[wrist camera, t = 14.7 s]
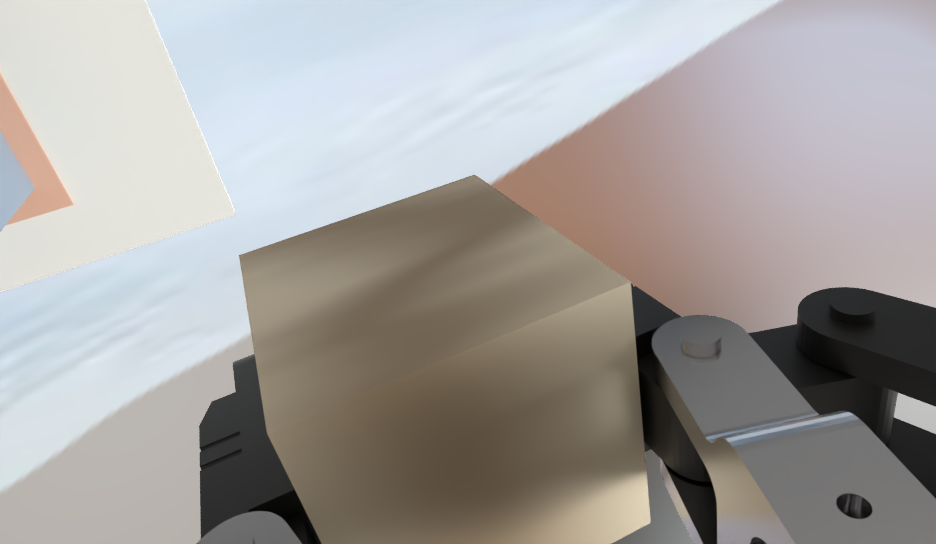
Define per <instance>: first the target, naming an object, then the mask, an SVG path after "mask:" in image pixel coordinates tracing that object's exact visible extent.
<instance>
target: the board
mask: <svg viewBox="0 0 936 544" xmlns="http://www.w3.org/2000/svg"><path fill="white" fill-rule="evenodd" d="M0 131H1V133H2V134H3V136H4V138H5V139H6V141H7V143H8V144H9V146H10V148H11V149H12V151H13V153H14V154H15V156H16V158H17V159H18V161H19V162H20V164H21V166H22V167H23V169H24V171H25V172H26V174H27V176H28V177H29V179H30V181H31V182H32V184H33V186H34V187H35V189H34V190H33V191H32V192H31V194H30V195H29V196H28V197H27V199H26V200H25V201H24V203H23V204H22V205H21V206H20V208H19V209H18V210H17V211H16V213H15V214H14V215H13V217H12V218H11V219H10V220H9V222H8V223H7V224H6V225H5V227H4V228H3V229H2V231H1V232H0V293H1V292H4V291H7V290H10V289H13V288H16V287H19V286H22V285H25V284H28V283H31V282H34V281H37V280H40V279H43V278H46V277H49V276H52V275H55V274H58V273H61V272H64V271H67V270H70V269H74V268H77V267H80V266H83V265H86V264H89V263H92V262H95V261H98V260H101V259H104V258H107V257H110V256H113V255H116V254H119V253H122V252H125V251H128V250H131V249H134V248H137V247H140V246H143V245H146V244H149V243H152V242H155V241H158V240H161V239H164V238H168V237H171V236H174V235H177V234H180V233H183V232H186V231H189V230H192V229H195V228H198V227H201V226H204V225H207V224H210V223H213V222H216V221H219V220H222V219H225V218H228V217H231V216H234V215H236V214H235V209H234V206H233V204H232V202H231V199H230V197H229V195H228V192H227V190H226V188H225V185H224V183H223V180H222V178H221V176H220V173H219V171H218V169H217V166H216V164H215V162H214V159H213V157H212V155H211V152H210V150H209V147H208V145H207V143H206V140H205V138H204V136H203V133H202V131H201V129H200V126H199V124H198V122H197V119H196V117H195V115H194V112H193V110H192V107H191V105H190V103H189V100H188V98H187V96H186V93H185V91H184V89H183V86H182V84H181V82H180V79H179V77H178V74H177V72H176V70H175V67H174V65H173V63H172V60H171V58H170V56H169V53H168V51H167V49H166V46H165V44H164V41H163V39H162V37H161V34H160V32H159V30H158V27H157V25H156V23H155V20H154V18H153V16H152V13H151V11H150V9H149V6H148V4H147V1H146V0H0Z"/></svg>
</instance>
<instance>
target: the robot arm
mask: <svg viewBox="0 0 936 544" xmlns="http://www.w3.org/2000/svg"><path fill="white" fill-rule="evenodd" d="M631 291H632V303H633V316H634V328H635V340H636V352H637V364H638V376H639V388H640V401H641V413H642V425H643V437H644V449H645V452H646V451H648V450H650V449H652V450H653V451H654V452H655V453H656V454H657V455H658V456H659V457H660V464H661V475H662V478H663V481H664V483H665V485H666V488H667V490H668V492H669V494H670V496H671V498H672V500H673V502H674V504H675V507H676V509H677V511H678V513H679V515H680V517H681V519H682V521H683V523H684V526H685V528H686V530H687V532H688V534H689V536H690V538H691V540H692V542H693V544H936V434H934V433H931V432H929V431H926V430H924V429H921V428H919V427H916V426H914V425H911V424H909V423H906V422H904V421H901V420H899V419H896V418H894V411H895V406H896V400H897V394H898V393H901V394H904V395H906V396H909V397H912V398H914V399H917V400H920V401H922V402H925V403H928V404H931V405H933V406H936V308H934V307H930V306H926V305H923V304H919V303H915V302H912V301H908V300H904V299H900V298H897V297H893V296H889V295H885V294H882V293H878V292H874V291H870V290H866V289H859V288H847V287H842V288H828V289H824V290H820V291H817V292H814V293H812V294H810V295H808V296H806V297H805V298H804V299H803V300H802V301H801V302H800V304H799V306H798V318H797V324H796V325H791V326H786V327H780V328H775V329H770V330H764V331H759V332H753V333H747V332H746V331H745V330H744V329H743V328H742V327H740V326H739V325H738V324H736V323H734V322H732V321H730V320H727V319H724V318H720V317H716V316H709V315H690V316H684V317H681V316H679V315H678V314H676V313H675V312H673V311H672V310H670V309H669V308H667V307H666V306H664V305H663V304H661V303H660V302H658V301H657V300H655V299H654V298H652V297H651V296H649V295H648V294H646V293H645V292H643V291H642V290H641V289H639V288H637V287H636V286H635V287H633V285H632V283H631ZM233 370H234V380H235V389H236V392H235V393H232V394H230V395H227V396H225V397H223V398H220V399H218V400H215V401H213V402H212V403H211V405H210V406H209V408H208V411H207V412H206V414H205V416H204V418H203V420H202V422H201V424H200V426H199V429H200V449H201V452H200V467H201V471H200V505H201V540H200V541H199V542H198V543H197V544H322V543H321V541H320V539H319V537H318V535H317V533H316V531H315V529H314V527H313V525H312V523H311V521H310V519H309V517H308V515H307V513H306V511H305V509H304V507H303V505H302V503H301V501H300V499H299V497H298V495H297V493H296V491H295V489H294V487H293V485H292V483H291V481H290V479H289V477H288V475H287V473H286V471H285V469H284V467H283V465H282V463H281V461H280V459H279V457H278V455H277V453H276V451H275V449H274V446H273V444H272V442H271V440H270V438H269V436H268V434H267V430H266V424H265V417H264V411H263V404H262V398H261V392H260V385H259V379H258V372H257V366H256V360H255V354H253V355H251V356H248V357H245V358H243V359H240V360H238V361H235V362H233Z"/></svg>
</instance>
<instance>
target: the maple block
mask: <svg viewBox="0 0 936 544" xmlns="http://www.w3.org/2000/svg"><path fill="white" fill-rule="evenodd" d="M239 257H240V264H241V270H242V277H243V283H244V289H245V296H246V302H247V309H248V315H249V321H250V328H251V334H252V340H253V346H254V353H255V360H256V366H257V372H258V379H259V385H260V392H261V398H262V404H263V411H264V417H265V424H266V430H267V434H268V436H269V438H270V440H271V442H272V444H273V446H274V449H275V451H276V453H277V455H278V457H279V459H280V461H281V463H282V465H283V467H284V469H285V471H286V473H287V475H288V477H289V479H290V481H291V483H292V485H293V487H294V489H295V491H296V493H297V495H298V497H299V499H300V501H301V503H302V505H303V507H304V509H305V511H306V513H307V515H308V517H309V519H310V521H311V523H312V525H313V527H314V529H315V531H316V533H317V535H318V537H319V539H320V541H321V543H322V544H611V543H613V542H615V541H617V540H619V539H621V538H623V537H624V536H626V535H628V534H630V533H632V532H634V531H636V530H638V529H639V528H641V527H643V526H645V525H647V524H649V523H650V510H649V498H648V486H647V473H646V461H645V449H644V437H643V425H642V413H641V401H640V388H639V376H638V364H637V352H636V340H635V328H634V316H633V303H632V291H631V282H630V281H628V280H627V279H626V278H624V277H623V276H621V275H620V274H618V273H617V272H615V271H614V270H613V269H611V268H610V267H608V266H607V265H605V264H604V263H602V262H601V261H599V260H598V259H596V258H595V257H594V256H592V255H591V254H589V253H588V252H586V251H585V250H583V249H582V248H581V247H579V246H578V245H576V244H575V243H573V242H572V241H570V240H569V239H567V238H566V237H564V236H563V235H562V234H560V233H559V232H557V231H556V230H554V229H553V228H551V227H550V226H549V225H547V224H546V223H544V222H543V221H541V220H540V219H538V218H537V217H535V216H534V215H533V214H531V213H530V212H528V211H527V210H525V209H524V208H522V207H521V206H519V205H518V204H516V203H515V202H514V201H512V200H511V199H509V198H508V197H506V196H505V195H504V194H502V193H500V192H499V191H497V190H496V189H495V188H493V187H492V186H490V185H489V184H488V183H486V182H485V181H483V180H482V179H480V178H479V177H477V176H476V175H472V176H469V177H466V178H463V179H460V180H458V181H455V182H452V183H449V184H446V185H443V186H440V187H437V188H434V189H431V190H428V191H425V192H423V193H420V194H417V195H414V196H411V197H408V198H405V199H402V200H399V201H396V202H393V203H390V204H388V205H385V206H382V207H379V208H376V209H373V210H370V211H367V212H364V213H361V214H358V215H355V216H353V217H350V218H347V219H344V220H341V221H338V222H335V223H332V224H329V225H326V226H323V227H320V228H318V229H315V230H312V231H309V232H306V233H303V234H300V235H297V236H294V237H291V238H288V239H285V240H283V241H280V242H277V243H274V244H271V245H268V246H265V247H262V248H259V249H256V250H253V251H250V252H248V253H245V254H242V255H239Z"/></svg>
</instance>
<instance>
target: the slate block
mask: <svg viewBox="0 0 936 544" xmlns="http://www.w3.org/2000/svg"><path fill="white" fill-rule="evenodd" d="M34 189H35V187H34V186H33V184H32V182H31V181H30V179H29V177H28V176H27V174H26V172H25V171H24V169H23V167H22V166H21V164H20V162H19V161H18V159H17V158H16V156H15V154H14V153H13V151H12V149H11V148H10V146H9V144H8V143H7V141H6V139H5V138H4V136H3V134H2V133H1V131H0V232H1V231H2V229H3V228H4V227H5V225H6V224H7V223H8V222H9V220H10V219H11V218H12V217H13V215H14V214H15V213H16V211H17V210H18V209H19V208H20V206H21V205H22V204H23V203H24V201H25V200H26V199H27V197H28V196H29V195H30V194H31V192H32V191H33V190H34Z"/></svg>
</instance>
